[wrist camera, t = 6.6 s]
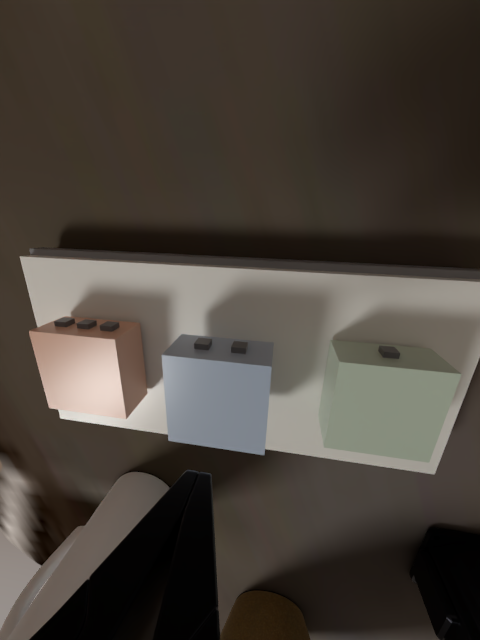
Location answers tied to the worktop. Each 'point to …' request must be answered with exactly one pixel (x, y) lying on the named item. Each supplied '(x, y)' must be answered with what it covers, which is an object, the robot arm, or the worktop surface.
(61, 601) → the mug
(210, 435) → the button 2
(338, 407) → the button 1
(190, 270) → the console
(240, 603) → the plant pot
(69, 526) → the worktop surface
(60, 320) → the orange block with buttons
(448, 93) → the worktop surface
